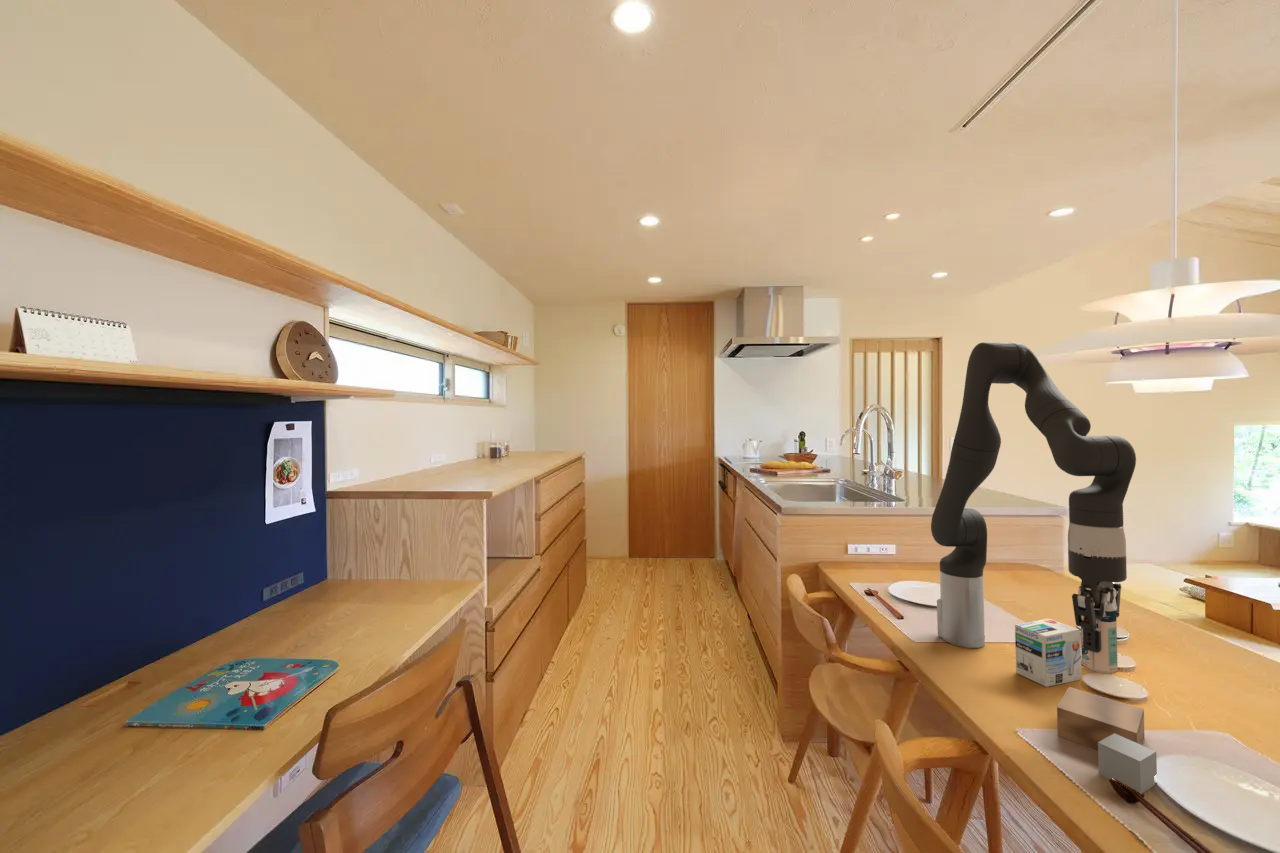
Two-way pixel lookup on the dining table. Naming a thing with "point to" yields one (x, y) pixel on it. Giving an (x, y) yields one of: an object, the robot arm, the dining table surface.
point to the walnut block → (1097, 718)
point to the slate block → (1127, 762)
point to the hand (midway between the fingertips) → (1098, 646)
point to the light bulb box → (1048, 652)
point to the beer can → (1103, 645)
